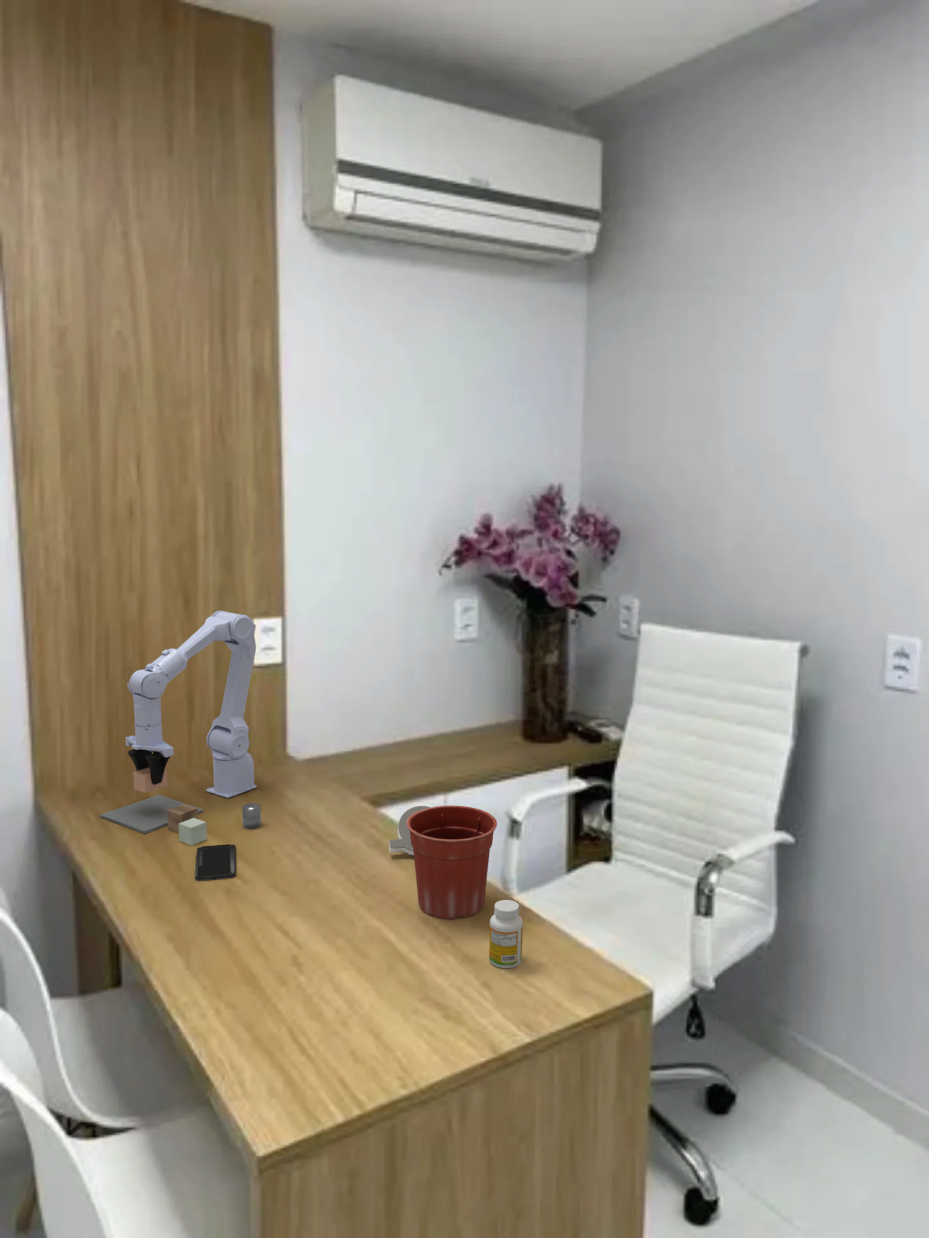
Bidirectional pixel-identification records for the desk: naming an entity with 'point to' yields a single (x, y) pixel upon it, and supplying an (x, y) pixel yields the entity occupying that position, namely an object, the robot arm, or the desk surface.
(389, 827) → the desk surface
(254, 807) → the metal cylinder
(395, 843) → the grey disc with foot
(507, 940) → the supplement bottle
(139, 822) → the desk mat
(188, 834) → the square sage brick
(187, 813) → the walnut cube
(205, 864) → the phone
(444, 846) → the flower pot
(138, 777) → the terracotta brick
